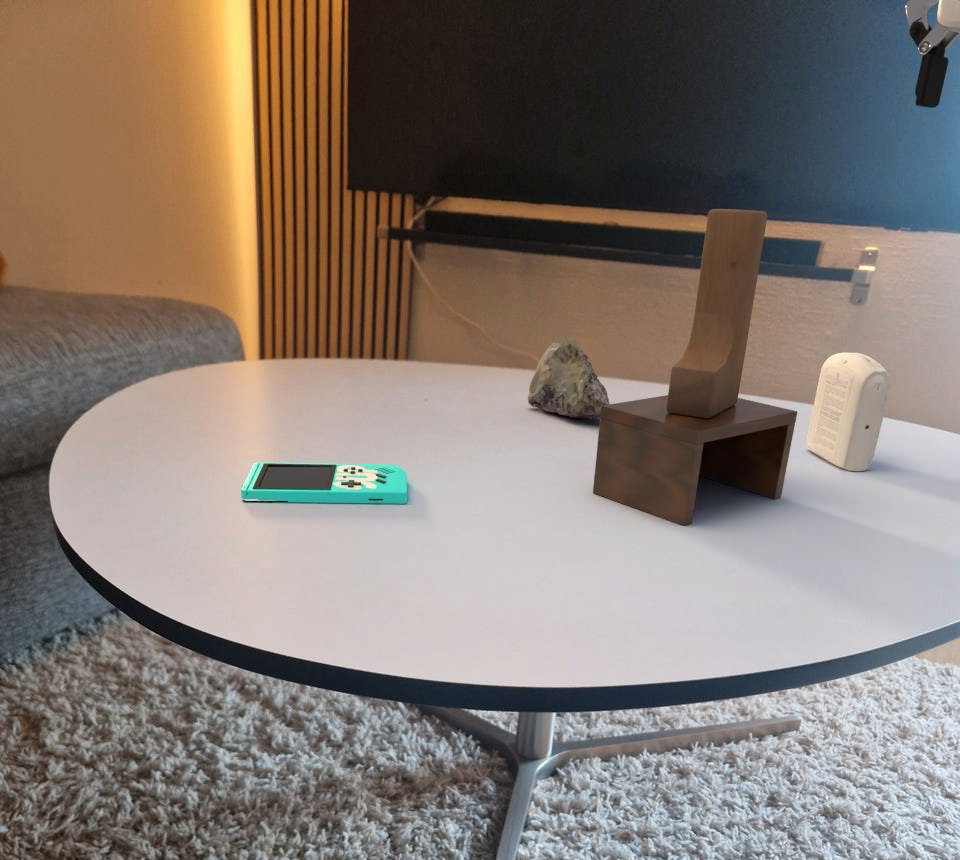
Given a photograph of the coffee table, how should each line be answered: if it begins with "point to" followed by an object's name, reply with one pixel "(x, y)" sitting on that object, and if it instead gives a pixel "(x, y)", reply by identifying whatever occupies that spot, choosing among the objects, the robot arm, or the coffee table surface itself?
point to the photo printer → (848, 410)
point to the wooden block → (719, 315)
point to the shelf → (689, 453)
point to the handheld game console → (326, 483)
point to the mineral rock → (567, 383)
